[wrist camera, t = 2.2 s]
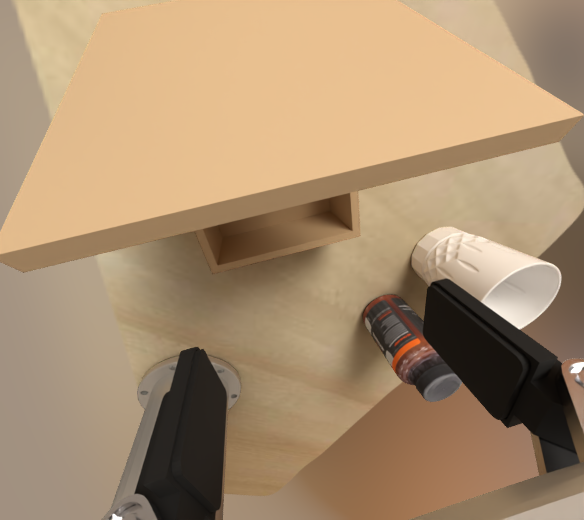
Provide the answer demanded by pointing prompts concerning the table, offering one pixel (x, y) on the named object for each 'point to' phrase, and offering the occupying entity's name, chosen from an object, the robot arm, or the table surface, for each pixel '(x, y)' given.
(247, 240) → the carton
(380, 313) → the supplement bottle
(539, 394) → the robot arm
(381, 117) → the cardboard box lid
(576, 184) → the table surface
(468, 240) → the white cup
